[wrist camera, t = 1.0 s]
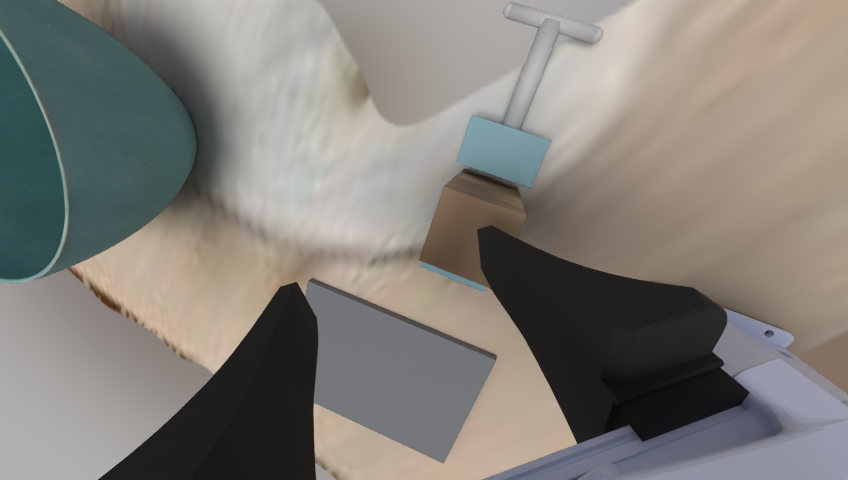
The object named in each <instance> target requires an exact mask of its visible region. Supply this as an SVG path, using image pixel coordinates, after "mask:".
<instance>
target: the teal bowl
mask: <svg viewBox="0 0 848 480" xmlns="http://www.w3.org/2000/svg"><path fill="white" fill-rule="evenodd" d="M196 152H197V139H196V133H195V129H194V125H193V123H192V120H191V118H190V115H189V113H188V111H187V110H186V108H185V106H184V105H183V103H182V102H181V100H180V99H179V98H178V96H177V95H176V94H175V93H174V92H173V91H172V89H171V88H170V87H169V86H168V85H167V84H166V83H165V82H164V81H163V80H162V79H161V78H160V77H159V76H158V75H157V74H156V73H155V72H154V71H153V70H152V69H151V68H150V67H149V66H148V65H147V64H146V63H145V62H144V61H143V60H141V59H140V58H139V57H138V56H137V55H136V54H135V53H133V52H132V51H131V50H130V49H128V48H127V47H126V46H125V45H123V44H122V43H121V42H119V41H118V40H117V39H116V38H114V37H113V36H111V35H110V34H109V33H107V32H106V31H104V30H103V29H101V28H100V27H98V26H97V25H96V24H94V23H92V22H91V21H89V20H88V19H86V18H85V17H83V16H81V15H80V14H78V13H77V12H75V11H73V10H72V9H70V8H68V7H67V6H65V5H63V4H62V3H60V2H58V1H56V0H0V282H2V283H18V284H19V283H26V282H30V281H33V280H36V279H39V278H42V277H45V276H47V275H50V274H53V273H56V272H58V271H61V270H64V269H66V268H68V267H71V266H73V265H76V264H78V263H80V262H82V261H85V260H87V259H89V258H91V257H93V256H95V255H97V254H99V253H101V252H103V251H105V250H107V249H109V248H110V247H112V246H114V245H116V244H117V243H119V242H121V241H123V240H124V239H126V238H128V237H129V236H131V235H132V234H134V233H135V232H137V231H138V230H139V229H141V228H142V227H143V226H145V225H146V224H148V223H149V222H150V221H151V220H153V219H154V218H155V217H156V216H157V215H158V214H159V213H161V212H162V211H163V210H164V209H165V208H166V207H167V206H168V204H169V203H170V202H171V201H172V200H173V199H174V197H175V196H176V195H177V194H178V192H179V191H180V189H181V187H182V186H183V184H184V183H185V181H186V179H187V177H188V176H189V174H190V172H191V170H192V168H193V165H194V162H195V158H196Z"/></svg>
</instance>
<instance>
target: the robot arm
mask: <svg viewBox="0 0 848 480" xmlns="http://www.w3.org/2000/svg"><path fill="white" fill-rule="evenodd" d="M477 234H478V244H479V254H480V264H481V270H482V272H483V274H484V276H485V278H486V280H487V282H488V284H489V286H490V288H491V289H492V291H493V292H494V294H495V295H496V297H497V298H498V300H499V301H500V303H501V304H502V306H503V307H504V309H505V310H506V311H507V313H508V314H509V316H510V317H511V319H512V320H513V322H514V323H515V325H516V326H517V328H518V329H519V330H520V332H521V334H522V335H523V337H524V338H525V340H526V342H527V344H528V346H529V347H530V349H531V351H532V353H533V355H534V357H535V358H536V360H537V362H538V364H539V366H540V368H541V370H542V372H543V374H544V376H545V378H546V380H547V381H548V383H549V385H550V387H551V389H552V391H553V393H554V395H555V398H556V400H557V402H558V404H559V406H560V408H561V410H562V412H563V414H564V416H565V418H566V420H567V422H568V425H569V427H570V429H571V431H572V433H573V435H574V437H575V440H576V442H577V445H574V446H571V447H568V448H566V449H563V450H560V451H558V452H555V453H552V454H550V455H547V456H544V457H542V458H539V459H536V460H534V461H531V462H528V463H526V464H523V465H520V466H517V467H515V468H512V469H509V470H507V471H504V472H501V473H499V474H496V475H493V476H491V477H488V478H485V479H483V480H848V395H847V394H846V393H845V392H843V391H842V390H841V389H839V388H838V387H837V386H835V385H834V384H833V383H831V382H830V381H829V380H827V379H826V378H824V377H823V376H822V375H820V374H819V373H818V372H816V371H815V370H814V369H812V368H811V367H809V366H808V365H807V364H806V363H804V362H803V361H801V360H800V359H799V358H798V357H796V356H795V355H793V354H792V353H791V352H789V351H788V350H787V349H786V348H787V347H788V346H789V345H790V344H791V343H792V342H793V340H794V336H793V335H792V334H790V333H789V332H787V331H785V330H783V329H780V328H777V327H774V326H772V325H769V324H766V323H764V322H761V321H758V320H755V319H753V318H750V317H747V316H745V315H742V314H739V313H737V312H734V311H731V310H728V309H726V308H723V307H720V306H719V305H718V304H716V303H715V302H713V301H712V300H710V299H709V298H707V297H706V296H705V295H703V294H702V293H700V292H699V291H697V290H696V289H694V288H691V287H684V286H676V285H669V284H661V283H654V282H648V281H643V280H637V279H632V278H627V277H622V276H618V275H613V274H609V273H606V272H602V271H598V270H594V269H591V268H587V267H584V266H581V265H578V264H575V263H572V262H569V261H566V260H564V259H561V258H558V257H556V256H553V255H551V254H549V253H546V252H544V251H542V250H540V249H537V248H535V247H533V246H531V245H529V244H527V243H525V242H523V241H521V240H519V239H517V238H515V237H513V236H511V235H509V234H507V233H506V232H504V231H502V230H500V229H498V228H496V227H494V226H492V225H490V226H487V227H484V228H480V229H477ZM768 330H769V332H768V333H765V332H766V331H768ZM764 333H765V334H764ZM318 343H319V342H318V324H317V317H316V315H315V314H314V312H313V310H312V308H311V306H310V305H309V303H308V301H307V299H306V298H305V296H304V294H303V292H302V290H301V289H300V287H299V285H298V283H297V282H295V283H291V284H288V285H285V286H281V287H280V288H279V289H278V291H277V292H276V294H275V295H274V297H273V298H272V299H271V301H270V302H269V304H268V305H267V307H266V308H265V310H264V311H263V313H262V314H261V315H260V317H259V318H258V320H257V321H256V323H255V324H254V325H253V327H252V328H251V330H250V331H249V332H248V334H247V335H246V336H245V338H244V339H243V340H242V342H241V343H240V344H239V345H238V347H237V348H236V349H235V351H234V352H233V353H232V355H231V356H230V357H229V358H228V359H227V361H226V362H225V363H224V364H223V365H222V366H221V368H220V369H219V370H218V371H217V372H216V373H215V374H214V375H213V377H212V378H211V379H210V380H209V381H208V382H207V383H206V384H205V385H204V386H203V387H202V388H201V389H200V390H199V391H198V392H197V393H196V394H195V395H194V397H192V398H191V399H190V400H189V401H188V402H187V403H186V404H185V405H184V406H183V407H182V408H181V409H180V410H179V411H178V412H177V413H176V414H175V415H174V416H173V417H172V418H171V419H170V420H169V421H168V422H167V423H165V424H164V425H163V426H162V427H161V428H160V429H159V430H158V431H157V432H155V433H154V434H153V435H152V436H151V437H150V438H149V439H147V440H146V441H145V442H144V443H143V444H142V445H141V446H139V447H138V448H137V449H136V450H134V452H132V453H131V454H130V455H129V456H127V457H126V458H125V459H124V460H122V461H121V462H120V463H119V464H117V465H116V466H115V467H113V468H112V469H111V470H110V471H108V472H107V473H106V474H105V475H103V476H102V477H101V478H100V479H98V480H316V473H315V452H314V418H313V408H314V391H315V380H316V368H317V356H318Z"/></svg>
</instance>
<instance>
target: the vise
mask: <svg viewBox="0 0 848 480" xmlns="http://www.w3.org/2000/svg"><path fill="white" fill-rule="evenodd" d="M503 14H504V16H505V18H507V19H510V20H513V21H517V22H520V23H524V24H527V25H530V26H534V27H537V28H539V29H538V31H537V34H536V37H535V39H534V42H533V44H532V47H531V50H530V52H529V55H528V58H527V60H526V63H525V65H524V68H523V71H522V73H521V76H520V79H519V81H518V84H517V86H516V89H515V92H514V94H513V97H512V100H511V102H510V105H509V107H508V110H507V113H506V115H505V118H504V121H503V123H502V124H499V123H496V122H492V121H489V120H486V119H483V118H480V117H477V116H474V115H472V117H471V120H470V123H469V126H468V129H467V132H466V135H465V138H464V141H463V144H462V147H461V149H460V152H459V155H458V158H457V161H456V162H457V163H460V164H463V165H466V166H469V167H471V168H474V169H477V170H480V171H483V172H486V173H489V174H491V175H494V176H497V177H500V178H503V179H506V180H508V181H511V182H514V183H517V184H520V185H523V186H526V187H528V188H530V187H531V185H532V183H533V180H534V178H535V176H536V174H537V171H538V169H539V167H540V165H541V162H542V160H543V158H544V156H545V153H546V151H547V149H548V147H549V144H550V142H551V141H550V140H547V139H544V138H541V137H538V136H535V135H532V134H529V133H526V132H523V131H520V129H521V126H522V124H523V121H524V119H525V116H526V114H527V111H528V109H529V106H530V104H531V102H532V99H533V97H534V94H535V92H536V89H537V87H538V84H539V82H540V79H541V77H542V74H543V72H544V69H545V67H546V64H547V62H548V59H549V57H550V54H551V52H552V49H553V47H554V44H555V42H556V39H557V37H558V35H559V34H561V35H565V36H568V37H572V38H575V39H579V40H582V41H586V42H589V43H596V42H598V41H599V40H600V39H601V38H602V36H603V30H602V28H601V27H598V26H595V25H591V24H587V23H584V22H581V21H577V20H573V19H570V18H566V17H563V16H559V15H556V14H552V13H549V12H545V11H542V10H538V9H535V8H531V7H527V6H524V5H520V4H517V3H513V2H510V3H508V4H506V6H505V7H504V11H503ZM420 267H422V268H425V269H428V270H430V271H433V272H435V273H438V274H440V275H443V276H445V277H448V278H450V279H453V280H455V281H458V282H460V283H463V284H465V285H468V286H470V287H473V288H475V289H478V290H480V291H483V292H484V291H485V288H486V286H483V285H480V284H478V283H475V282H473V281H470V280H468V279H465V278H463V277H460V276H458V275H455V274H453V273H450V272H447V271H445V270H442V269H440V268H437V267H435V266H432V265H430V264H427V263H425V262H422V263H421V266H420Z"/></svg>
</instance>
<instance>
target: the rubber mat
mask: <svg viewBox="0 0 848 480" xmlns="http://www.w3.org/2000/svg"><path fill="white" fill-rule="evenodd" d="M305 298H306V299H307V301H308V303H309V305H310V306H311V308H312V310H313V312H314V314H315V315H316V317H317V324H318V342H319V343H318V356H317V368H316V380H315V391H314V403H316V404H318V405H320V406H322V407H324V408H326V409H329V410H331V411H333V412H335V413H337V414H339V415H341V416H343V417H346V418H348V419H350V420H352V421H354V422H356V423H358V424H360V425H363V426H365V427H367V428H369V429H371V430H373V431H375V432H378V433H380V434H382V435H384V436H386V437H388V438H390V439H392V440H395V441H397V442H399V443H401V444H403V445H405V446H407V447H409V448H412V449H414V450H416V451H418V452H420V453H422V454H424V455H426V456H429V457H431V458H433V459H435V460H437V461H439V462H441V463H443V464H444V462H445V460H446V458H447V456H448V454H449V452H450V450H451V448H452V446H453V444H454V442H455V440H456V438H457V436H458V434H459V432H460V430H461V428H462V426H463V424H464V422H465V421H466V419H467V417H468V415H469V413H470V411H471V409H472V407H473V405H474V403H475V401H476V399H477V397H478V395H479V393H480V391H481V389H482V387H483V385H484V383H485V381H486V379H487V377H488V376H489V374H490V372H491V370H492V368H493V366H494V364H495V362H496V355H493V354H491V353H488V352H486V351H484V350H481V349H479V348H477V347H474V346H472V345H469V344H467V343H465V342H462V341H460V340H457V339H455V338H453V337H450V336H448V335H446V334H443V333H441V332H438V331H436V330H434V329H431V328H429V327H426V326H424V325H422V324H419V323H417V322H414V321H412V320H410V319H407V318H405V317H403V316H400V315H398V314H395V313H393V312H391V311H388V310H386V309H383V308H381V307H379V306H376V305H374V304H372V303H369V302H367V301H364V300H362V299H360V298H357V297H355V296H352V295H350V294H348V293H345V292H343V291H341V290H338V289H336V288H333V287H331V286H329V285H326V284H324V283H321V282H319V281H317V280H314V279H310V280H309V281H308V285H307V290H306V295H305Z"/></svg>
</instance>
